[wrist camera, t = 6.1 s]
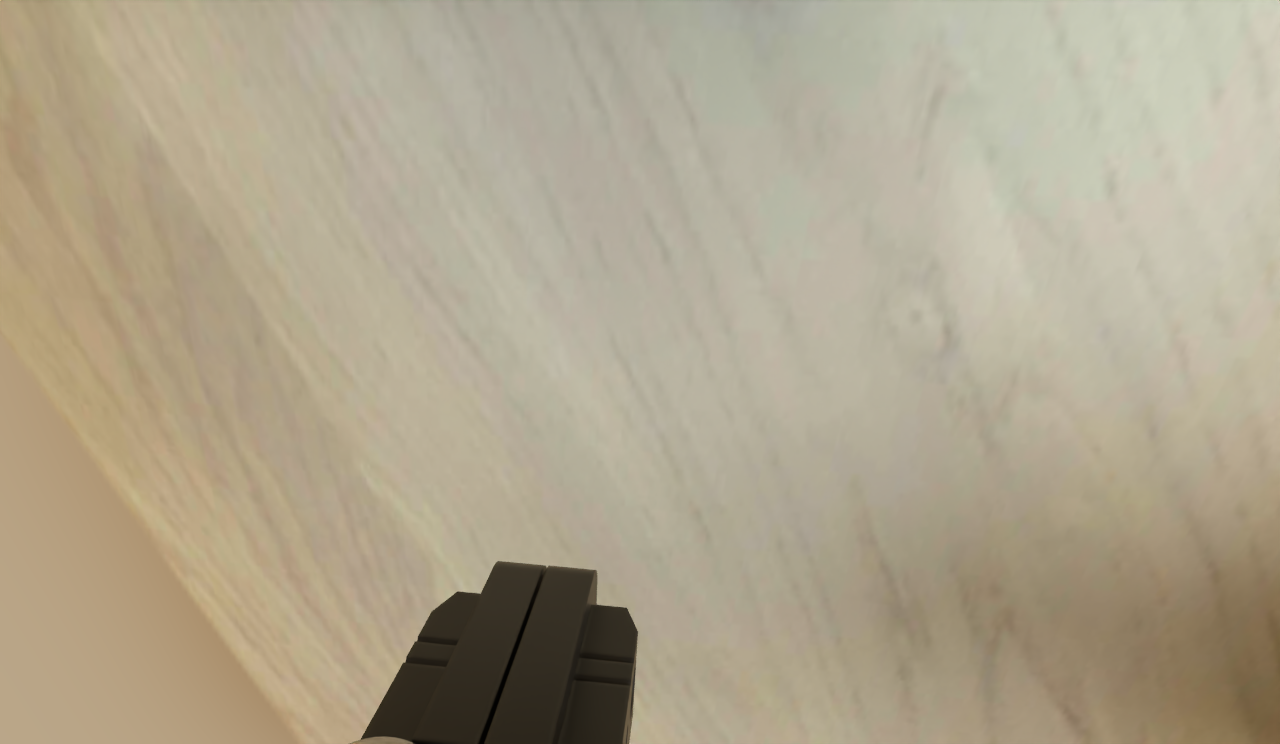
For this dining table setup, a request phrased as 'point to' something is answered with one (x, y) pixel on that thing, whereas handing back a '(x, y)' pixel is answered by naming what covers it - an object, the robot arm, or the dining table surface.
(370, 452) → the dining table surface
